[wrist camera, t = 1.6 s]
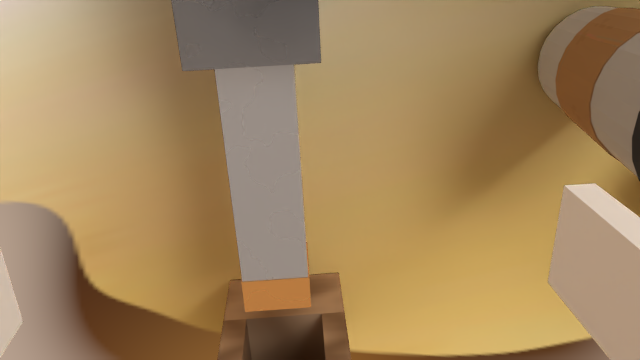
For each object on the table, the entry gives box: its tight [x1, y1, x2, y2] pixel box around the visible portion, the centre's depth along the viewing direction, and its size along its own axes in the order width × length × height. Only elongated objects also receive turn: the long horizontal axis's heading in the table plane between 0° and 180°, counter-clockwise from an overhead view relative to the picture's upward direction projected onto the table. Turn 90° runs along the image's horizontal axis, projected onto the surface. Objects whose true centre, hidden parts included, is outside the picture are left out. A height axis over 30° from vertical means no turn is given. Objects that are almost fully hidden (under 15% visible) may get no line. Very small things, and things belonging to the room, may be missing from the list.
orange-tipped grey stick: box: [215, 65, 311, 312], centre depth 27 cm, size 4×25×4 cm, turn 3°
